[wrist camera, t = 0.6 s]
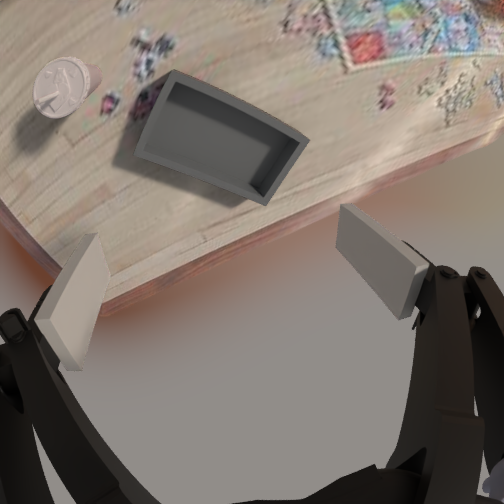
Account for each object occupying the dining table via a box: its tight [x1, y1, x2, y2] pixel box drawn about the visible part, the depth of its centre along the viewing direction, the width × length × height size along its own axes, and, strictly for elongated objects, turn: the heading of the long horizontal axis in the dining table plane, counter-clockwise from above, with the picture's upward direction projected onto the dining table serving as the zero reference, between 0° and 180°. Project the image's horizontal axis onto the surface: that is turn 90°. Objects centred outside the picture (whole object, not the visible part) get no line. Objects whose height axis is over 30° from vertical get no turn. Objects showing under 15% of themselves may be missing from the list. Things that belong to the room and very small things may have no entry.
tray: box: [133, 69, 310, 206], centre depth 33 cm, size 11×19×4 cm, turn 59°
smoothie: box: [33, 56, 102, 118], centre depth 19 cm, size 6×6×14 cm
